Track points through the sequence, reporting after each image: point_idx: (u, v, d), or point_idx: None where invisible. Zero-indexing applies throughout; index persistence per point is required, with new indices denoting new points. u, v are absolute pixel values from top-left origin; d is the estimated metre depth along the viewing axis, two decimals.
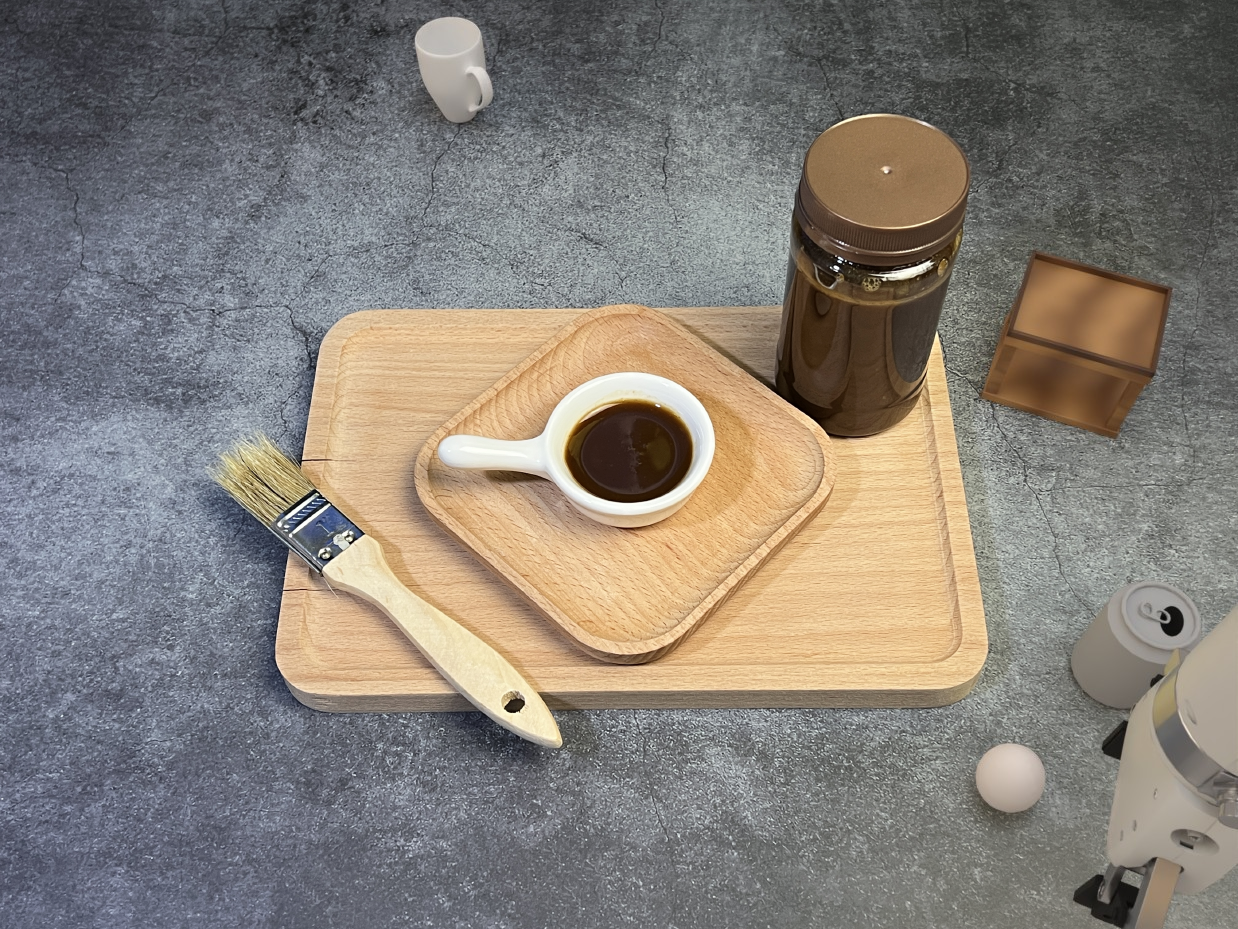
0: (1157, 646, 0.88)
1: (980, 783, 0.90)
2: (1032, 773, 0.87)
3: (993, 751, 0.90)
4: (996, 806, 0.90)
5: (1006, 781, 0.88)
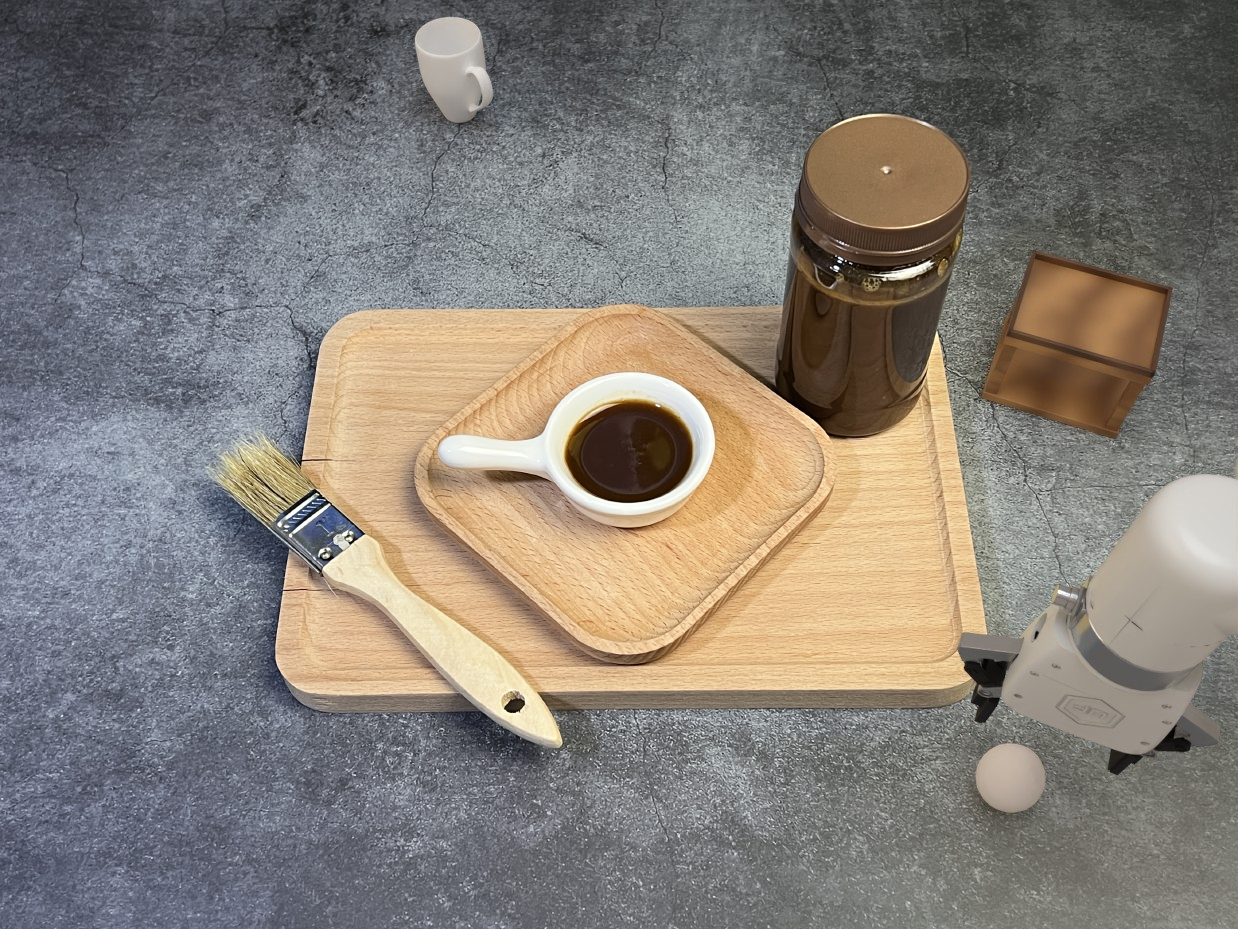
0: None
1: (980, 783, 0.90)
2: (1032, 773, 0.87)
3: (992, 751, 0.90)
4: (996, 806, 0.90)
5: (1006, 781, 0.88)
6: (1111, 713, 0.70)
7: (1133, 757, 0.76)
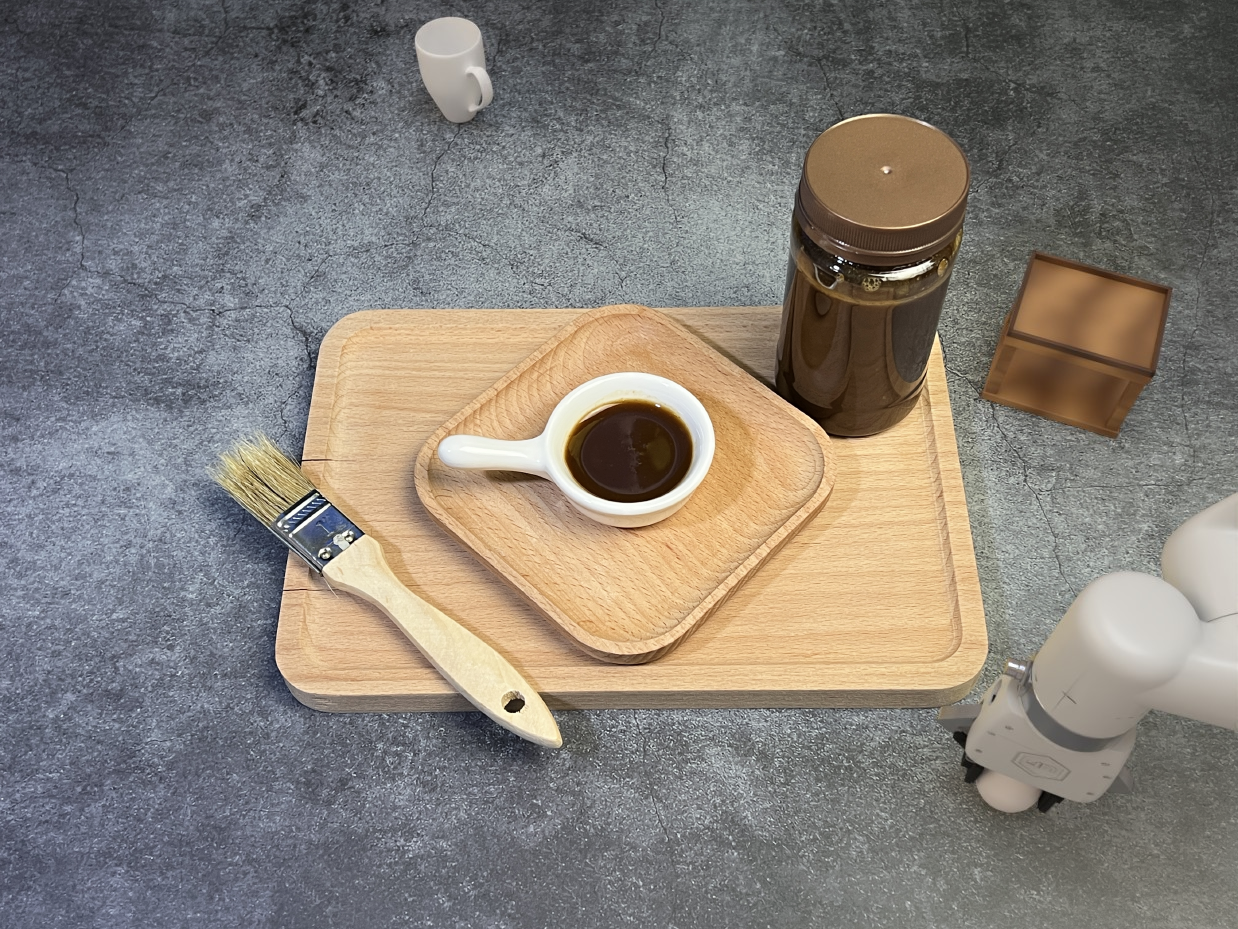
0: None
1: (980, 783, 0.90)
2: None
3: None
4: (996, 806, 0.90)
5: (1006, 781, 0.88)
6: (1059, 768, 0.80)
7: (1055, 798, 0.86)
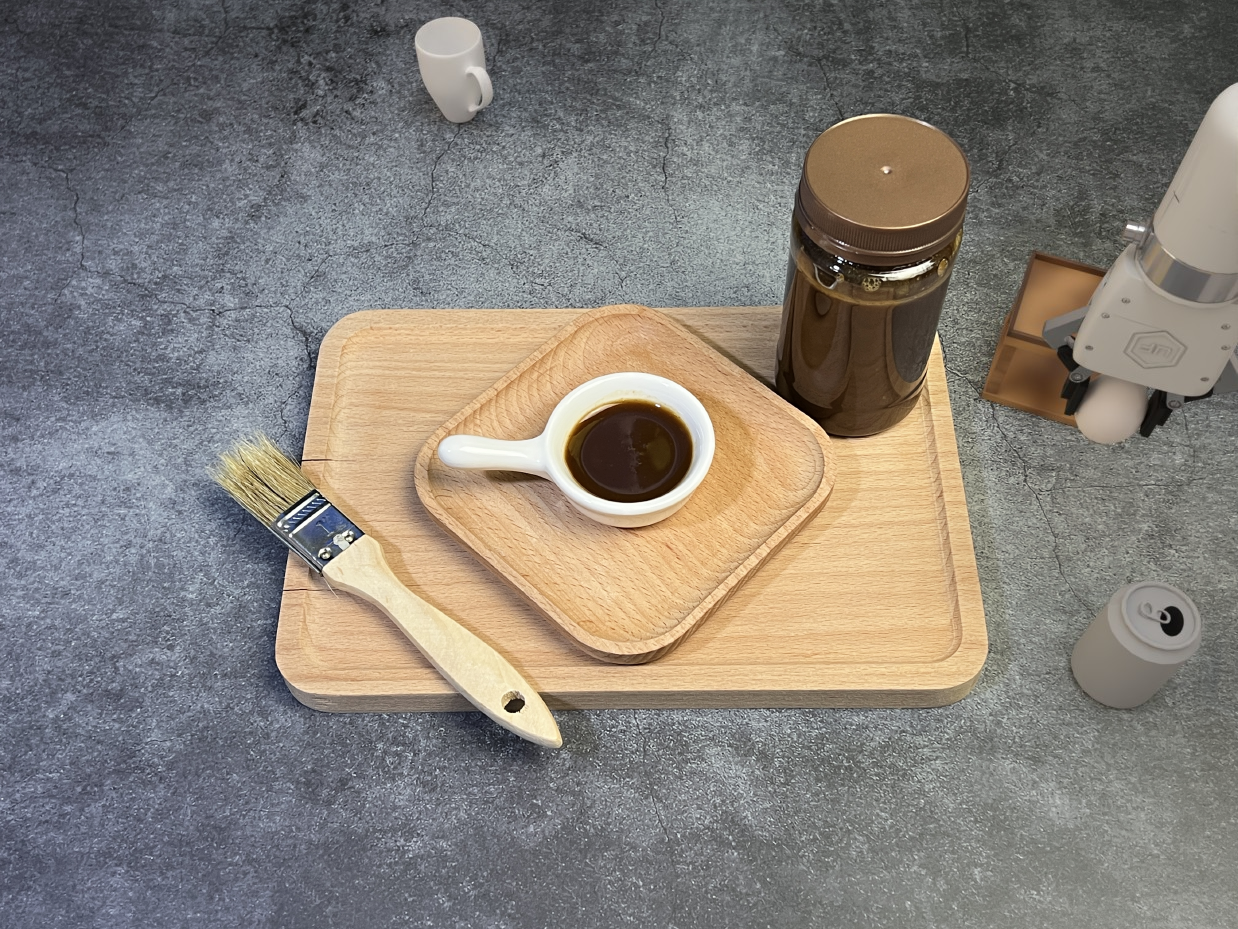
0: (1157, 646, 0.88)
1: (1081, 413, 0.89)
2: (1137, 389, 0.86)
3: (1093, 379, 0.89)
4: (1098, 433, 0.89)
5: (1110, 399, 0.87)
6: (1175, 347, 0.79)
7: (1162, 410, 0.86)
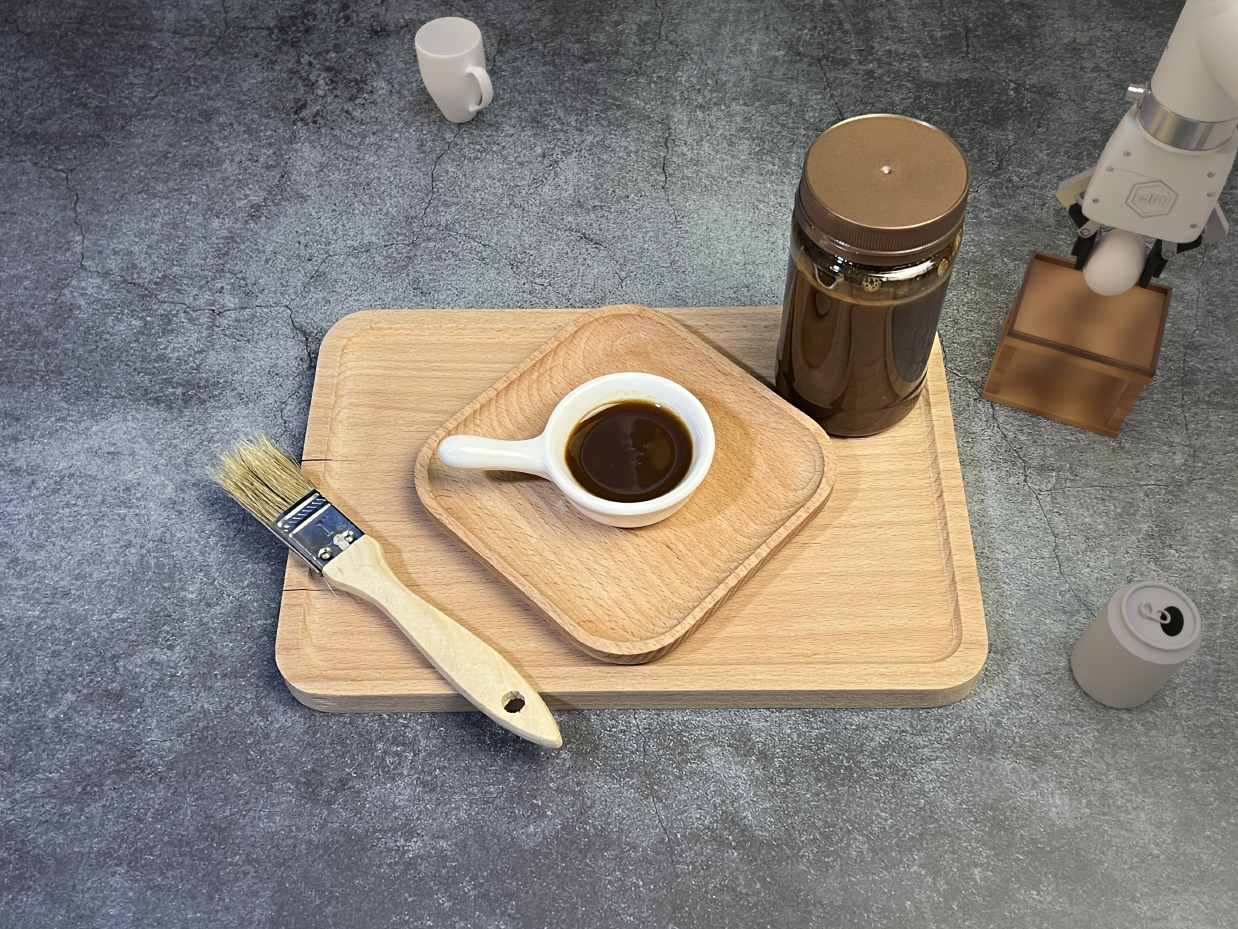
0: (1157, 646, 0.88)
1: (1088, 266, 1.04)
2: (1137, 242, 1.01)
3: (1100, 237, 1.03)
4: (1103, 284, 1.03)
5: (1114, 251, 1.01)
6: (1168, 195, 0.93)
7: (1158, 260, 1.00)
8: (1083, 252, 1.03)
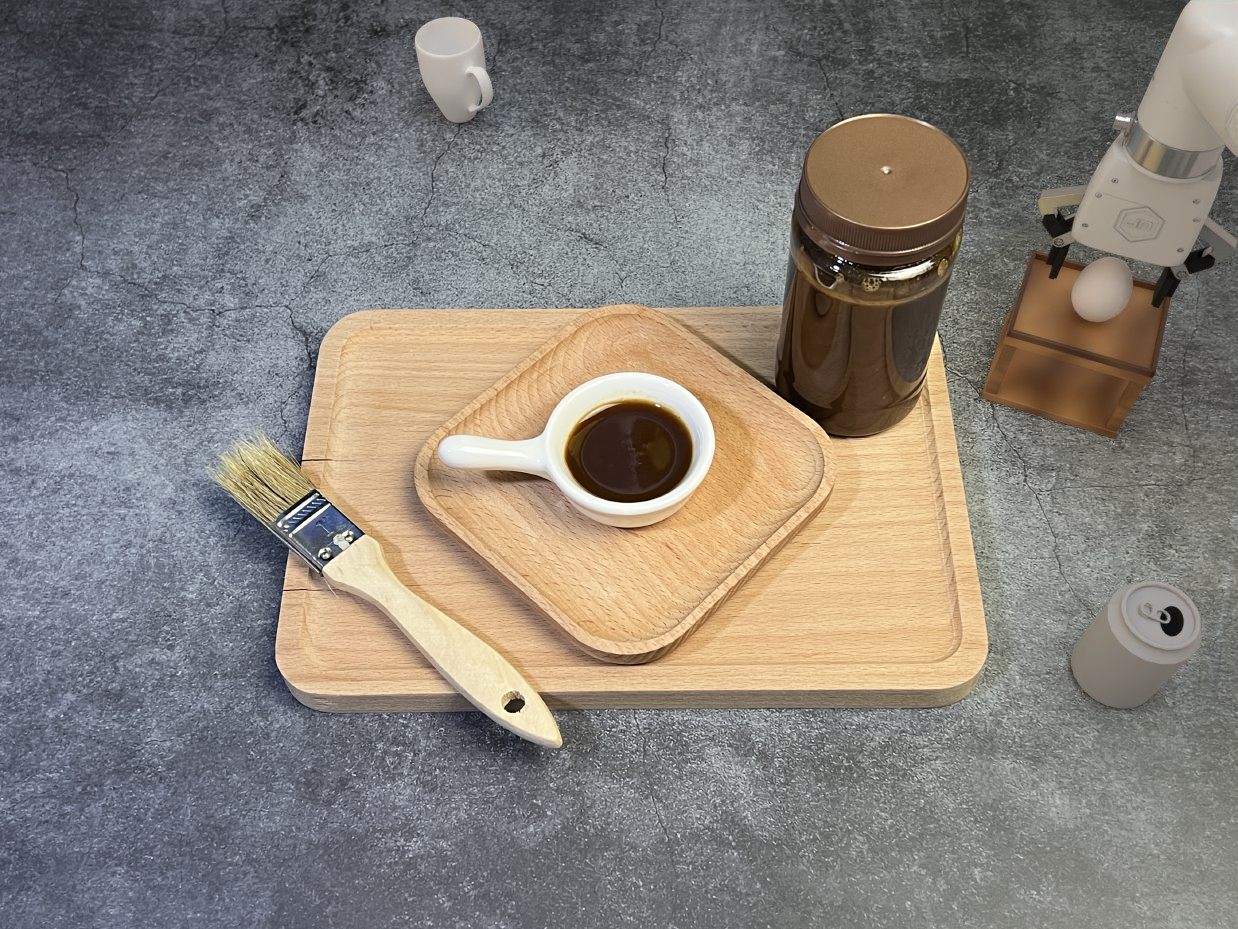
0: (1157, 646, 0.88)
1: (1076, 294, 1.07)
2: (1123, 271, 1.04)
3: None
4: (1090, 311, 1.06)
5: (1101, 280, 1.04)
6: (1155, 221, 0.96)
7: (1171, 280, 1.01)
8: (1057, 261, 1.05)
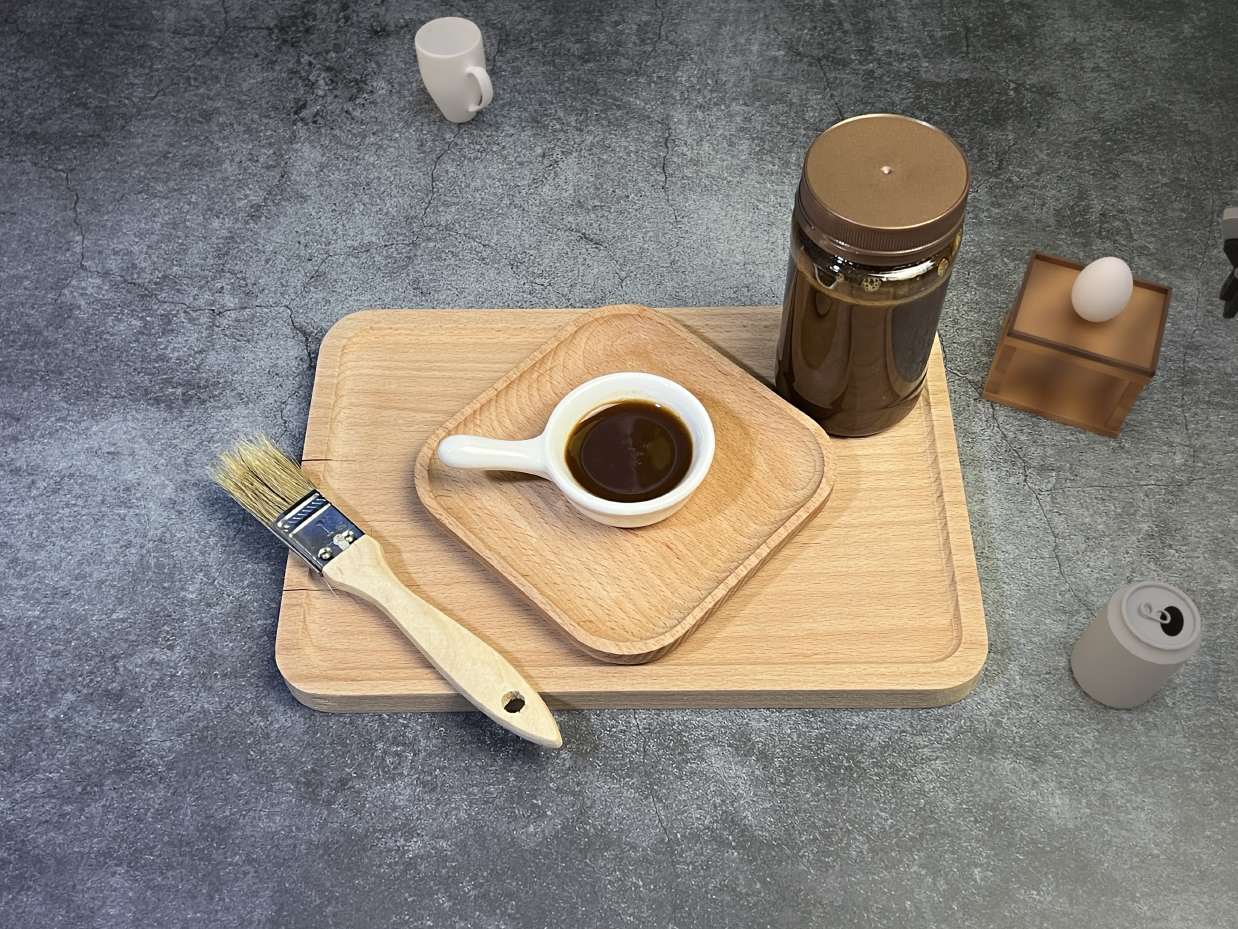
0: (1157, 646, 0.88)
1: (1077, 294, 1.07)
2: (1123, 271, 1.04)
3: None
4: (1090, 311, 1.06)
5: (1101, 280, 1.04)
6: None
7: None
8: None
